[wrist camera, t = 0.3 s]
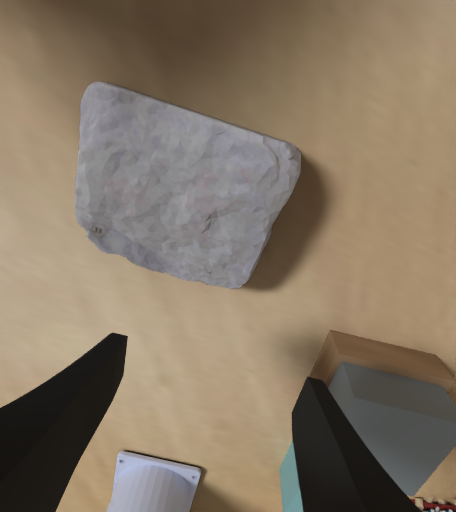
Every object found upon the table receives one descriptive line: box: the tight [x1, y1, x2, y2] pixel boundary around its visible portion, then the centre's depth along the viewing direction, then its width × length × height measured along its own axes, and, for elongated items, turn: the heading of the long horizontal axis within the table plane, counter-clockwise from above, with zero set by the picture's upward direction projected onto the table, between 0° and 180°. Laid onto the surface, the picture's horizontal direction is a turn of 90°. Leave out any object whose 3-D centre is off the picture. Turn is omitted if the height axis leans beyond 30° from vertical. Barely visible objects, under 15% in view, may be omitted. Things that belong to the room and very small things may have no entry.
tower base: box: [309, 330, 456, 393], centre depth 24 cm, size 8×8×3 cm
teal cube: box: [280, 441, 303, 512], centre depth 27 cm, size 4×4×4 cm
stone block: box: [75, 81, 301, 289], centre depth 19 cm, size 12×5×10 cm
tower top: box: [328, 361, 456, 496], centre depth 21 cm, size 7×7×3 cm
